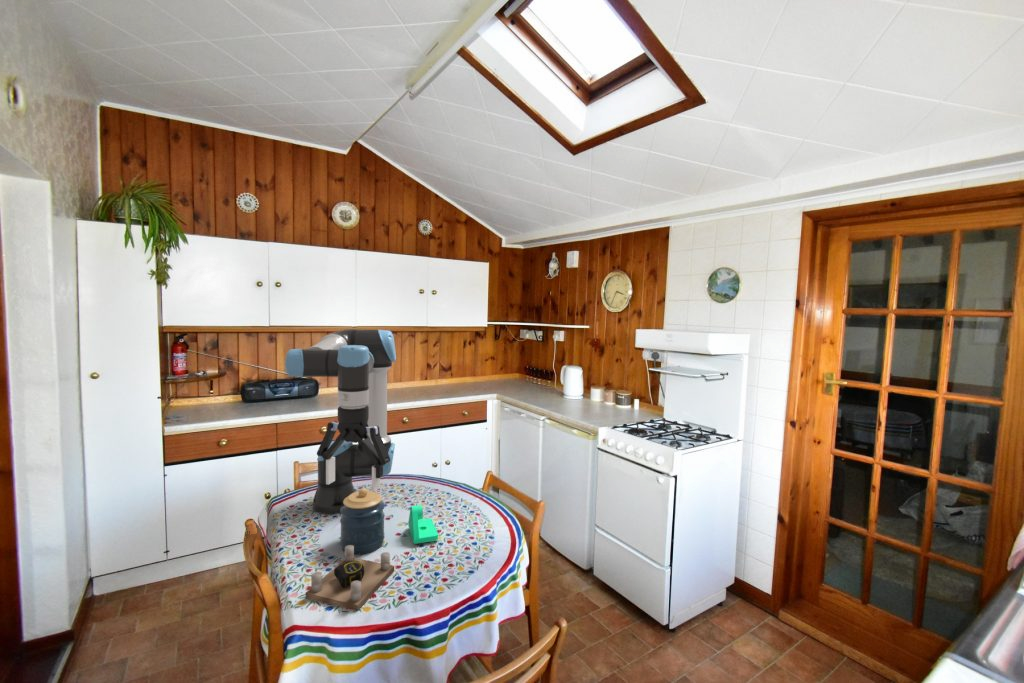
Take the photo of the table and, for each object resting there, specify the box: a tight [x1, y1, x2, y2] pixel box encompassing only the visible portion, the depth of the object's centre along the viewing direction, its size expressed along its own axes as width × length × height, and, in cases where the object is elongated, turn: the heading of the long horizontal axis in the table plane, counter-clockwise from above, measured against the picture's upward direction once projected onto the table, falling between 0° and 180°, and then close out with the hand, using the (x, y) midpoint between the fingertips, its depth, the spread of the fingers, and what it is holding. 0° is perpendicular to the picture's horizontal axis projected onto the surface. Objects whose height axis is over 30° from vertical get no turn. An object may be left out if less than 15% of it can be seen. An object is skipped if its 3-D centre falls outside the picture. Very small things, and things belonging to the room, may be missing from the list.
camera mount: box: [407, 504, 439, 545], centre depth 142 cm, size 12×8×10 cm, turn 21°
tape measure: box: [334, 561, 364, 588], centre depth 116 cm, size 7×7×4 cm
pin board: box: [305, 545, 395, 612], centre depth 117 cm, size 15×17×6 cm
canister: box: [339, 487, 386, 555], centre depth 136 cm, size 13×13×18 cm
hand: (352, 486), depth 115 cm, fingers open, 13 cm apart
